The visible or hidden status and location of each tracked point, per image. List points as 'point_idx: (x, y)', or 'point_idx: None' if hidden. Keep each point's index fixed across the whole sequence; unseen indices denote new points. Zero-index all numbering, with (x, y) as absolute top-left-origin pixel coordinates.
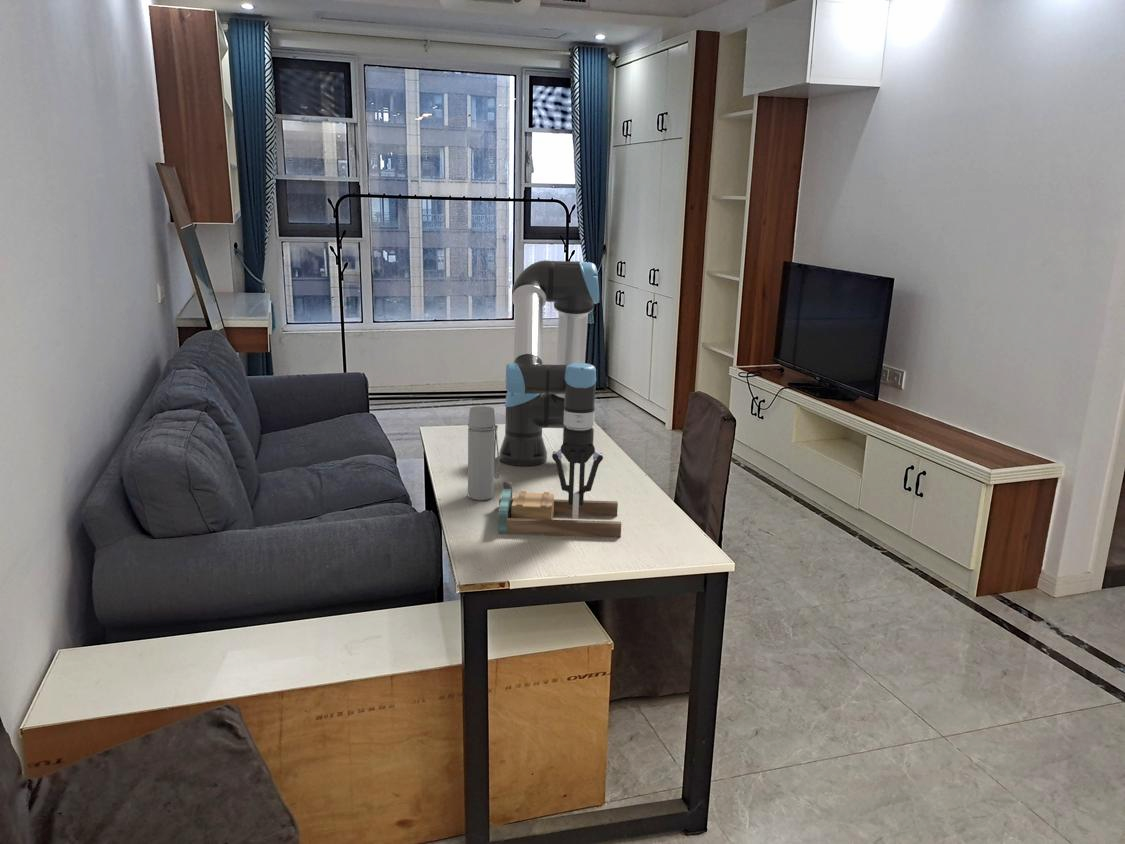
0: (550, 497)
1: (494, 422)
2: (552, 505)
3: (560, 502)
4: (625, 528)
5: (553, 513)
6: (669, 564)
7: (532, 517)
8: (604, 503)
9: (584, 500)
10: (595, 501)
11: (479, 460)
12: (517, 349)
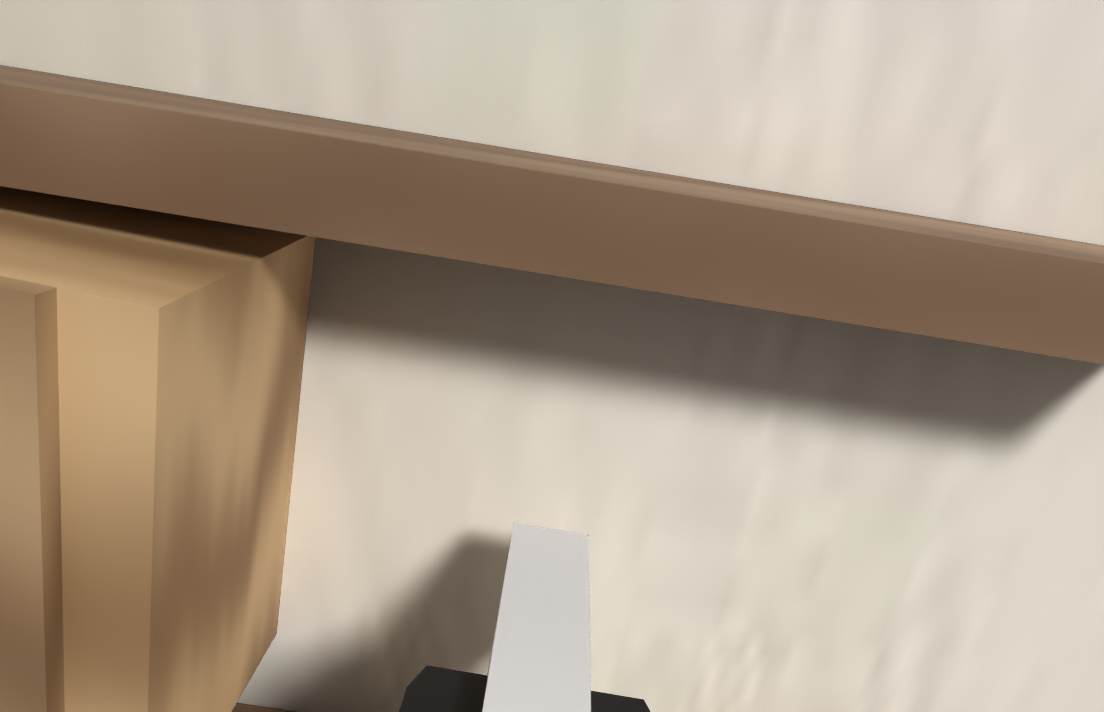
0: (98, 485)
1: None
2: (171, 678)
3: (356, 237)
4: (1062, 681)
5: (304, 255)
6: None
7: None
8: (1082, 358)
9: (779, 223)
10: (958, 288)
11: None
12: None
